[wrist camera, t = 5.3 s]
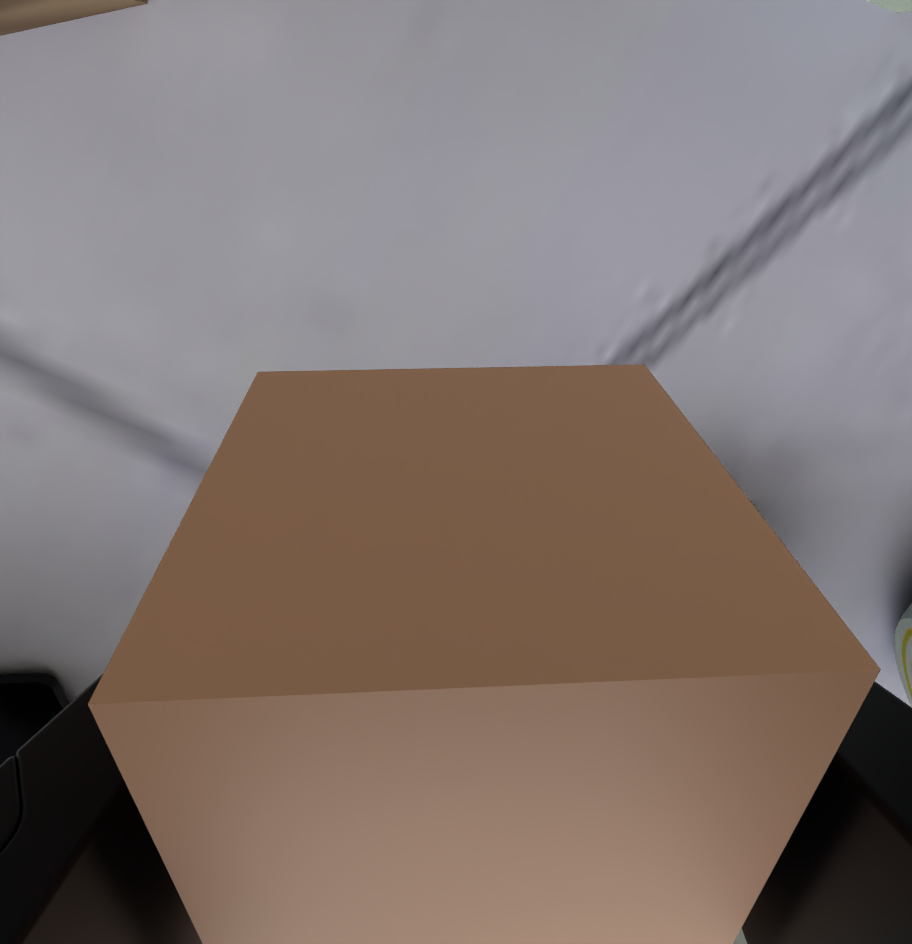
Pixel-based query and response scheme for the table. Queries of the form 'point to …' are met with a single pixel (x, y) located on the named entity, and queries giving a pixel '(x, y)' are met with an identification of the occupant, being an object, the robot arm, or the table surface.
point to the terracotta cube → (474, 669)
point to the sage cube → (894, 5)
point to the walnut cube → (53, 12)
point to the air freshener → (905, 650)
